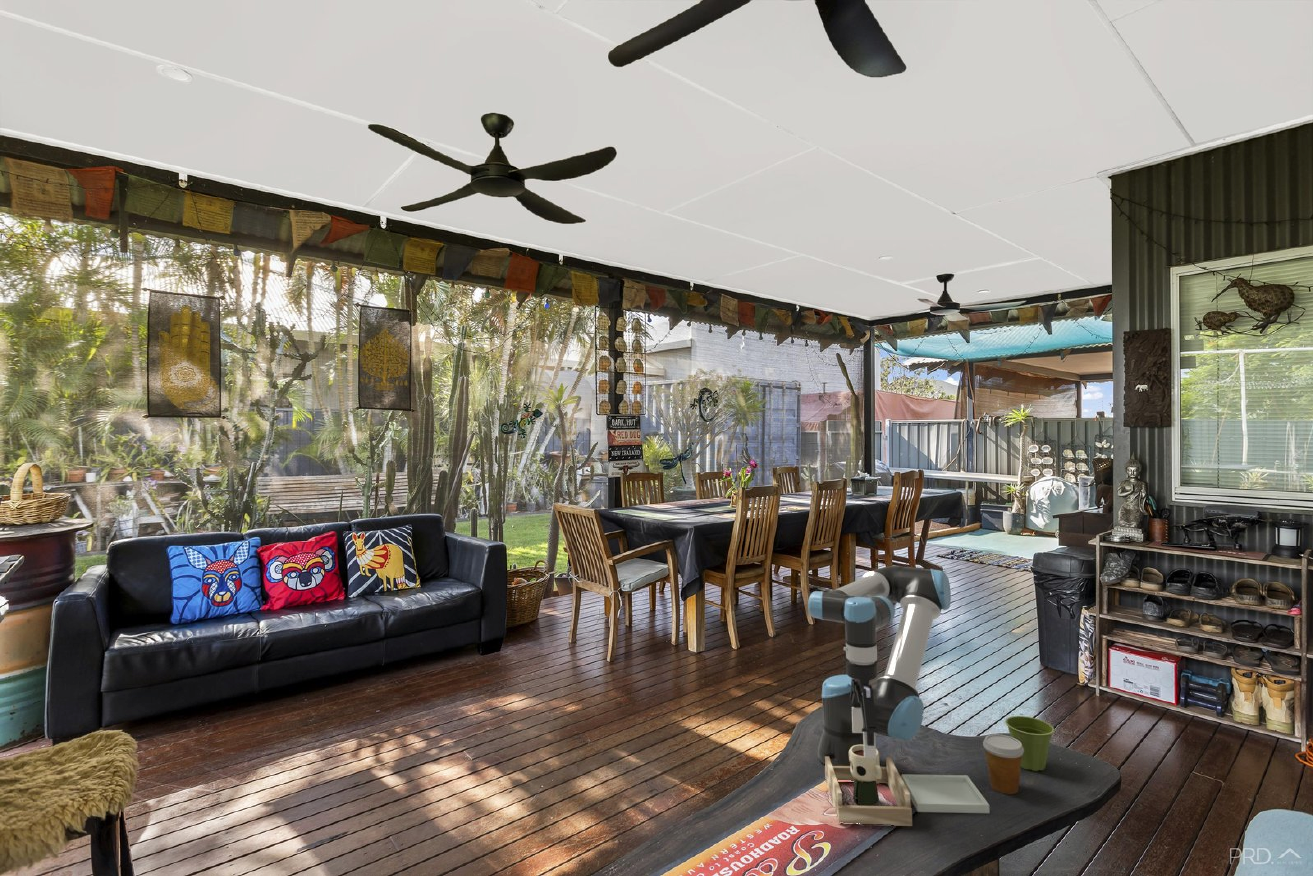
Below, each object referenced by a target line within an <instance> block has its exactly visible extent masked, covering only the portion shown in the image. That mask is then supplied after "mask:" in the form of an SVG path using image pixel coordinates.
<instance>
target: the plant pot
mask: <svg viewBox="0 0 1313 876" xmlns="http://www.w3.org/2000/svg"><path fill="white" fill-rule="evenodd" d="M1004 722H1005V724H1006V726H1007V728H1008V732H1009V735H1010V737H1013V738H1015V739H1017V740H1019V741H1020V742H1021V744H1022V747H1023V748H1024V753H1023V755H1022V760H1021V769H1023V770H1024V769H1025V770H1032V771H1033V772H1038V771H1037V770H1041V769H1044V768H1045V769H1046V764H1047V760H1048V759H1047V758H1048V752H1049V748H1050V741H1051V740H1052V735H1053V734H1054V733H1055V728H1054V726H1053V725H1052V724H1050V723H1049V722H1046V721H1044V720H1042V719H1039V718H1035V717H1031V716H1025V715H1013V716H1008V717H1007V718H1005V721H1004ZM1045 769H1044V770H1045ZM1041 771H1042V770H1041Z"/></svg>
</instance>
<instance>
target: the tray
mask: <svg viewBox="0 0 1313 876" xmlns="http://www.w3.org/2000/svg"><path fill="white" fill-rule="evenodd" d="M900 776H901V778H902V780H903V782H904V784H905V786H906V787H907V789H908V791H909V793H910V801H911V802H912V803H913V806H914V808H915V809H916V812H917V813H952V814H953V813H957V814H959V813H960V814H961V813H963V814H990V804H989V803H988V801H987V800H986V799H985V796H983V795H982V793H981V791H979V789H978V788H977V787H976V785H975V783H974V782H973V780H971V778H970V776H969V775H963V774H959V775H957V774H954V775H953V774H907V773H906V774H905V773H904V774H903V773H902V774H901V775H900Z"/></svg>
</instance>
